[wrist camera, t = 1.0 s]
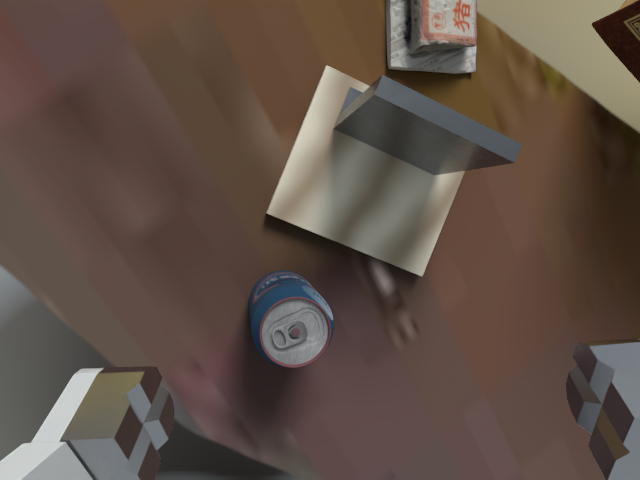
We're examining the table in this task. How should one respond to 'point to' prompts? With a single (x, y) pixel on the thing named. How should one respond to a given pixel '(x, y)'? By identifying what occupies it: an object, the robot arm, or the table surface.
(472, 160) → the bookend
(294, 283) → the soda can
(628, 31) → the decorative book
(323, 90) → the shelf plank
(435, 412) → the table surface
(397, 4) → the packaged product
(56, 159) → the table surface
